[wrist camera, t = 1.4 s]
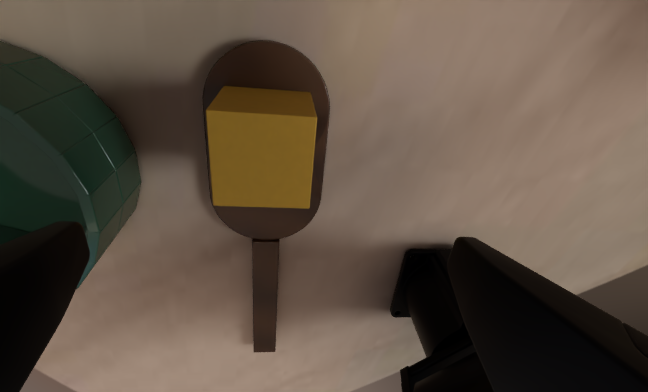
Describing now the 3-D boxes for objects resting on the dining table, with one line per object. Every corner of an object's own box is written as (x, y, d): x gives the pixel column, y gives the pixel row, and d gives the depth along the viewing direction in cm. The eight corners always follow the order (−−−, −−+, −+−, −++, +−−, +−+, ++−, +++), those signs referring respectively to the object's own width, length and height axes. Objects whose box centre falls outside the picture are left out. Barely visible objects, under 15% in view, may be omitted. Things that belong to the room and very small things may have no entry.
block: (305, 168, 20) (309, 208, 16) (227, 165, 19) (212, 206, 15) (310, 91, 18) (317, 117, 14) (223, 85, 17) (205, 110, 13)
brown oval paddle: (305, 342, 28) (305, 351, 28) (223, 344, 28) (222, 353, 27) (334, 46, 17) (336, 48, 17) (199, 34, 16) (195, 35, 16)
